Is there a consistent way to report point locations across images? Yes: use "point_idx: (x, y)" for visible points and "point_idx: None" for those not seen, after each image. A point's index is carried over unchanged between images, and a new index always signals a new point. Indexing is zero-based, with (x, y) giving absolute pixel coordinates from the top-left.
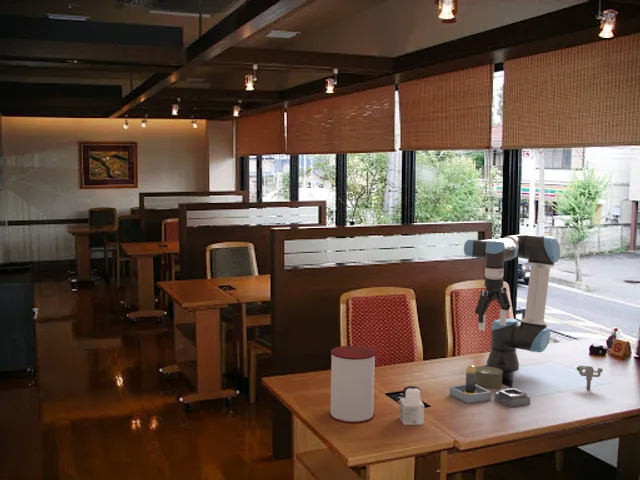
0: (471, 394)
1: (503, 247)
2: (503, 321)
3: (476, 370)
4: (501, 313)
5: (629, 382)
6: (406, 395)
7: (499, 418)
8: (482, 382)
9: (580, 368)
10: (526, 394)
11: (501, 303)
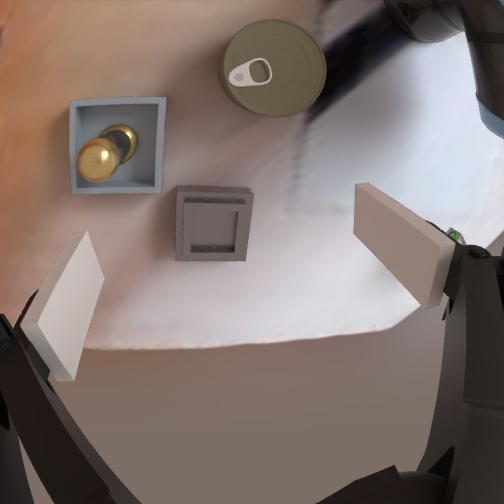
0: (87, 190)
1: None
2: (370, 235)
3: (112, 175)
4: (412, 245)
5: (494, 233)
6: None
7: (103, 292)
8: (223, 83)
9: None
10: (238, 258)
11: (447, 368)
